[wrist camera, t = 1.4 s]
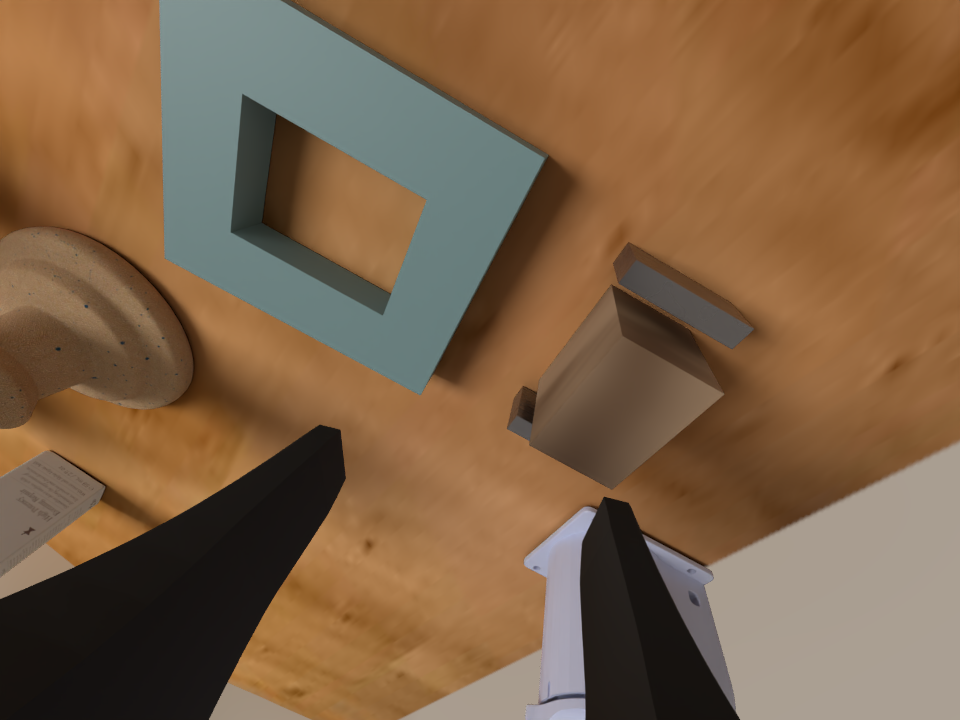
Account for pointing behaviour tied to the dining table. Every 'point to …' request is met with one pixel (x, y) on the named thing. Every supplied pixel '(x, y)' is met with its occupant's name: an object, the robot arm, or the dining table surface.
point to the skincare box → (41, 504)
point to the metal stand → (667, 294)
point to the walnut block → (620, 390)
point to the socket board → (357, 132)
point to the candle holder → (83, 327)
